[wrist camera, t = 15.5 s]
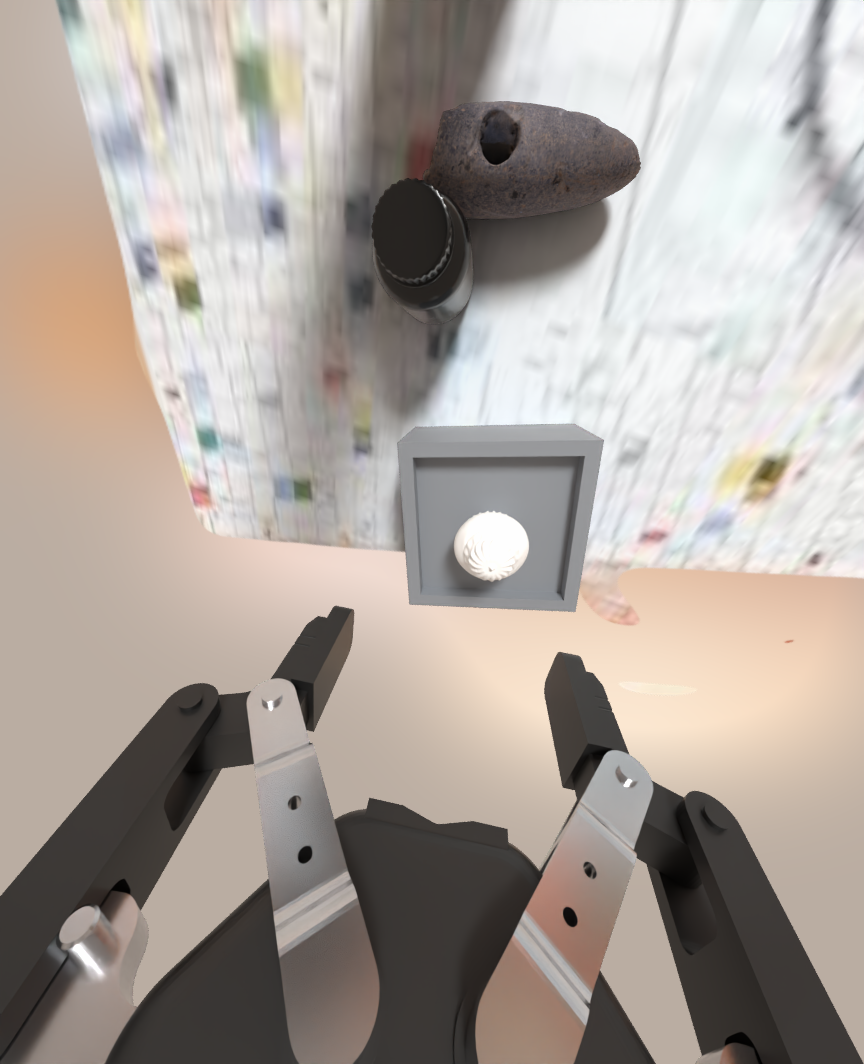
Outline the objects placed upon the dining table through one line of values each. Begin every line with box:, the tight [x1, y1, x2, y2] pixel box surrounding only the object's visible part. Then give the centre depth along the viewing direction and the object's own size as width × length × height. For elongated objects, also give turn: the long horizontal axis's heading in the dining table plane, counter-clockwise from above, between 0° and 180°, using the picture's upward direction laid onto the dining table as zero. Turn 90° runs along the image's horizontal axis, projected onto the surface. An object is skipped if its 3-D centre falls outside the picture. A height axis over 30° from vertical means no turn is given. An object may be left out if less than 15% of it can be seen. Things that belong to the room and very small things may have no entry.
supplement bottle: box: [372, 178, 474, 325], centre depth 26 cm, size 7×7×12 cm
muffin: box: [454, 511, 529, 582], centre depth 29 cm, size 6×6×7 cm
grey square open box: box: [397, 424, 604, 612], centre depth 35 cm, size 16×16×9 cm
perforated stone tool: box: [423, 101, 641, 219], centre depth 25 cm, size 15×5×7 cm, turn 87°
